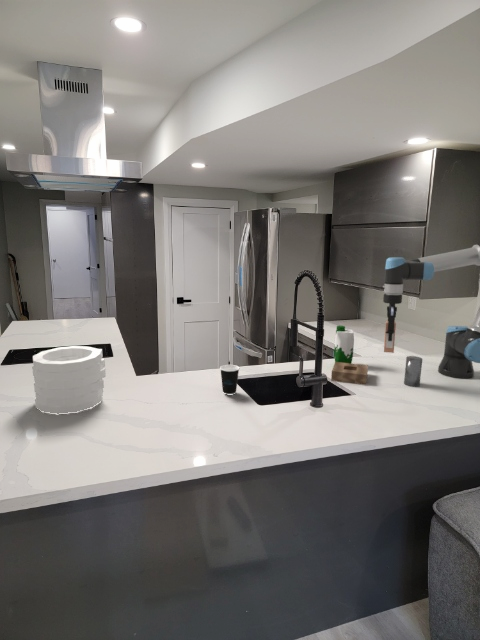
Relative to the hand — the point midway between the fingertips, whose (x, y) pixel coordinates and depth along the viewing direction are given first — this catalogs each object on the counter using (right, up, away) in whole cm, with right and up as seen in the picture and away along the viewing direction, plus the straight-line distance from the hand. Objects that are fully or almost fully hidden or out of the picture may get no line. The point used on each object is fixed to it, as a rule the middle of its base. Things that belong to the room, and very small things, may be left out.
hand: (389, 346), depth 182 cm
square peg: (0, -2, 0) cm, 2 cm away
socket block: (-15, -15, +7) cm, 23 cm away
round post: (+10, -17, 0) cm, 19 cm away
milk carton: (-14, -11, +25) cm, 31 cm away
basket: (-129, -20, -25) cm, 133 cm away
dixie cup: (-70, -18, -14) cm, 74 cm away
